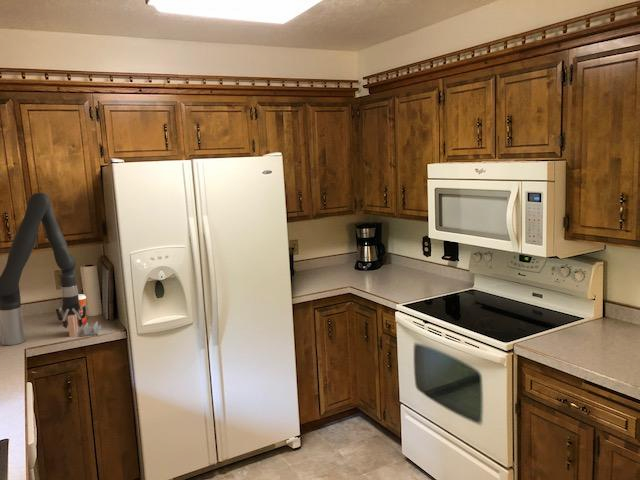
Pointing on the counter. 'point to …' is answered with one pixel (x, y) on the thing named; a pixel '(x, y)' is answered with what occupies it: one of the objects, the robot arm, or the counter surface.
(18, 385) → the counter surface
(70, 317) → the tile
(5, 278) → the robot arm
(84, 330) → the blue grey crystal cluster
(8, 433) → the counter surface
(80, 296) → the coffee cup
